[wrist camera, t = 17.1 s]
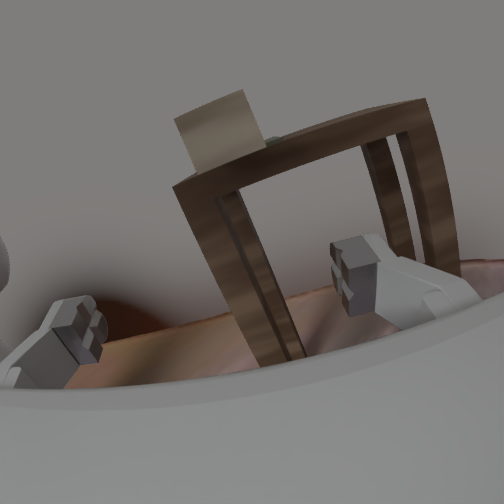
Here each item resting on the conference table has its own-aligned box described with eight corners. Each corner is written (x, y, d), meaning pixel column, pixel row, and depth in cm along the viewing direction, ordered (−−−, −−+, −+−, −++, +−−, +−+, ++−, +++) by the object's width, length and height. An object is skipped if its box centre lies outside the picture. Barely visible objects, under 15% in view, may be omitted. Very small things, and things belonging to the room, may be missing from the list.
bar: (266, 146, 14) (242, 89, 13) (197, 175, 15) (173, 119, 14) (263, 140, 35) (254, 116, 34) (235, 151, 35) (225, 128, 34)
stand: (460, 379, 28) (424, 94, 19) (299, 439, 32) (170, 183, 22) (418, 318, 41) (367, 105, 32) (292, 364, 45) (204, 164, 35)
